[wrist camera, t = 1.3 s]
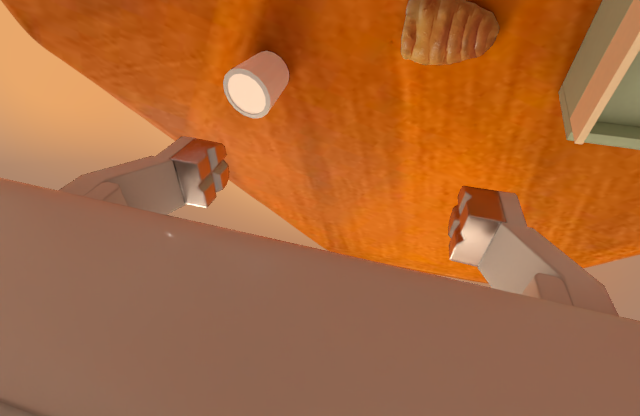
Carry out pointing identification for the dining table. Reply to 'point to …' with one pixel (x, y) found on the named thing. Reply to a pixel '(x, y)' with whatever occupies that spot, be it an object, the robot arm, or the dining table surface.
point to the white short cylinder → (256, 84)
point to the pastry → (446, 31)
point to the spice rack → (606, 80)
